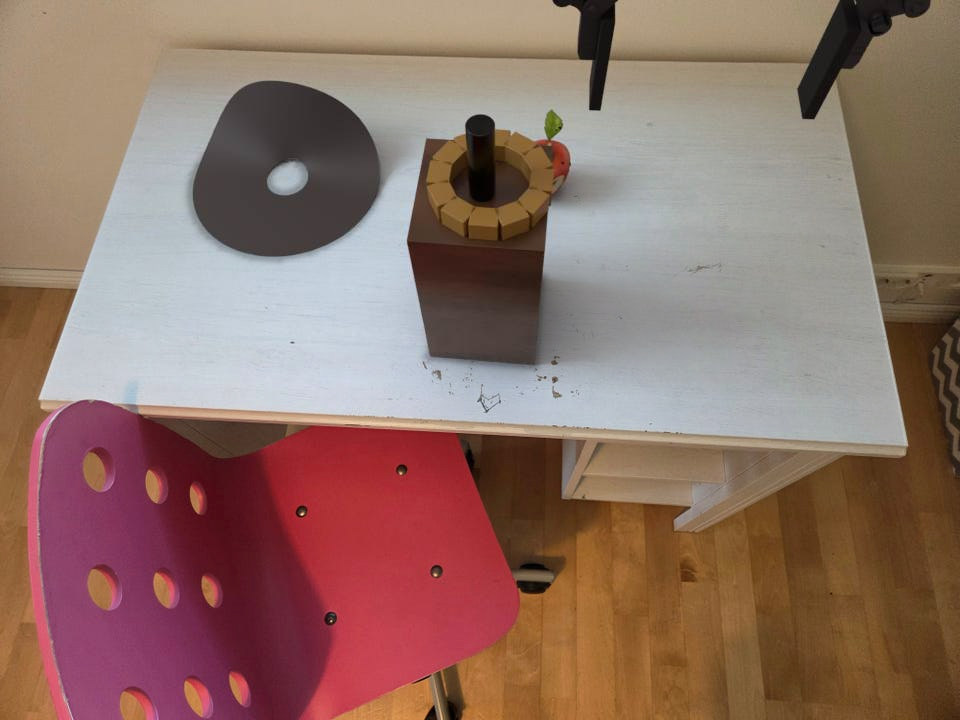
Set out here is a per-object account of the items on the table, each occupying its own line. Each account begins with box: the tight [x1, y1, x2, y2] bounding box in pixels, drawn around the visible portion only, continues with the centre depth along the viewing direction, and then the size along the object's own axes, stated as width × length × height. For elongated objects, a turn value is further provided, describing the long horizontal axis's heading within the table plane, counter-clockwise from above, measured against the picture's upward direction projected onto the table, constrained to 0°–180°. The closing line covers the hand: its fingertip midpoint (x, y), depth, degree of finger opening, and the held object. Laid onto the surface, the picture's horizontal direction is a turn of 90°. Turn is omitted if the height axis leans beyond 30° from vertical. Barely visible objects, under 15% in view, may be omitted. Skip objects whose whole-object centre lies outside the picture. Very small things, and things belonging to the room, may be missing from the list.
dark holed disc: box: [192, 80, 381, 257], centre depth 87 cm, size 25×20×10 cm
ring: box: [426, 128, 554, 241], centre depth 61 cm, size 11×11×2 cm
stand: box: [406, 137, 553, 366], centre depth 72 cm, size 12×12×22 cm
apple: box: [533, 109, 572, 196], centre depth 86 cm, size 8×7×10 cm
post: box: [464, 113, 496, 202], centre depth 59 cm, size 2×2×8 cm
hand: (699, 100), depth 45 cm, fingers open, 13 cm apart
